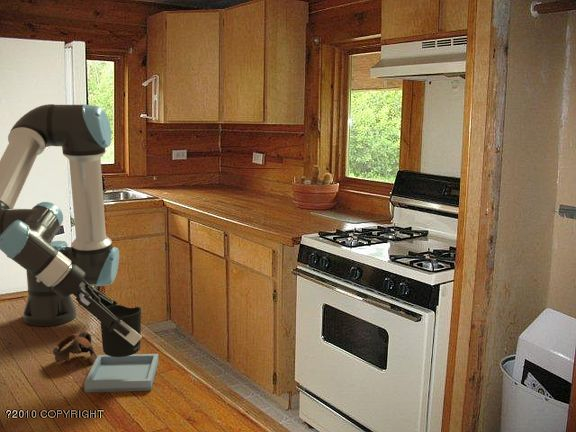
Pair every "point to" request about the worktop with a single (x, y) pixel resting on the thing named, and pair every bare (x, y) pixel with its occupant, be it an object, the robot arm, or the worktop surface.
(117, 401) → the worktop surface
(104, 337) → the pen holder
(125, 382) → the tray
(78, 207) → the robot arm
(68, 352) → the brown hollow rounded piece
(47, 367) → the worktop surface
